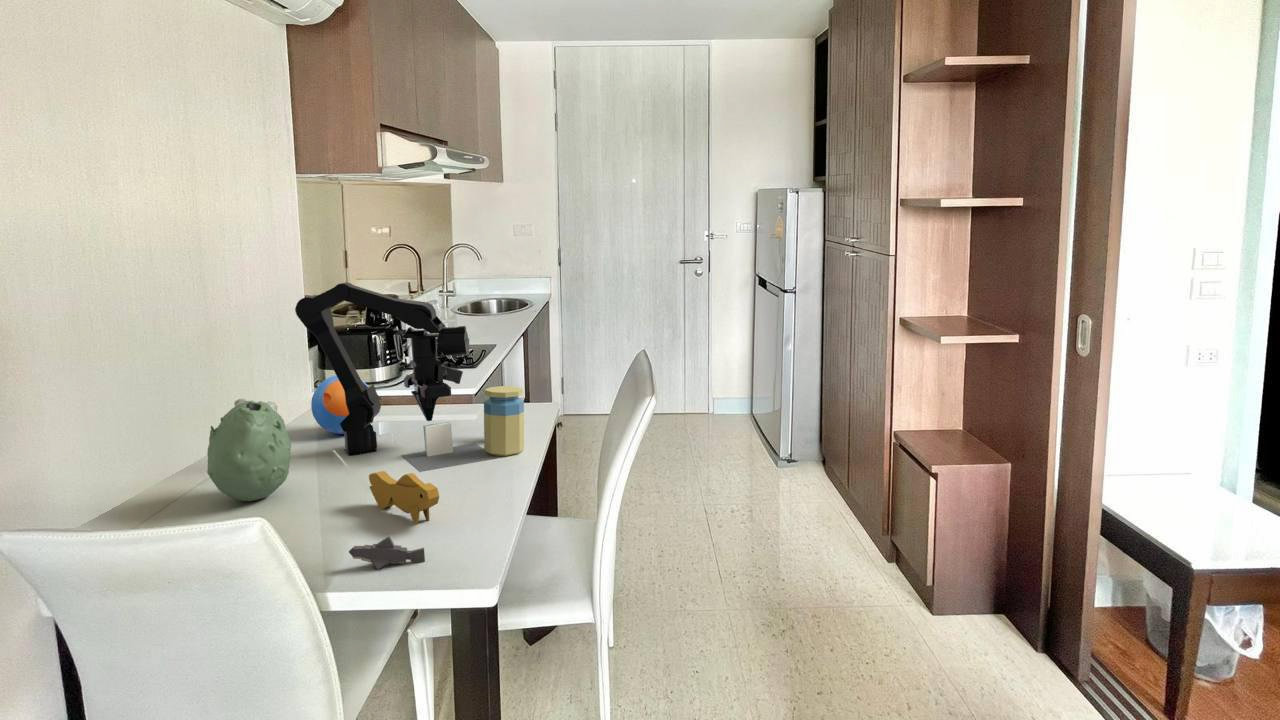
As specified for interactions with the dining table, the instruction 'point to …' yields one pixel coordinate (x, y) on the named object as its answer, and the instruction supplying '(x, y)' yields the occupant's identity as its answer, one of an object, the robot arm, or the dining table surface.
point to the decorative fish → (404, 493)
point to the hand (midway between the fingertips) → (429, 420)
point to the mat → (448, 457)
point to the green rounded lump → (249, 451)
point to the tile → (438, 439)
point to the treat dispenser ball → (330, 405)
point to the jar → (503, 421)
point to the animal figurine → (386, 553)
